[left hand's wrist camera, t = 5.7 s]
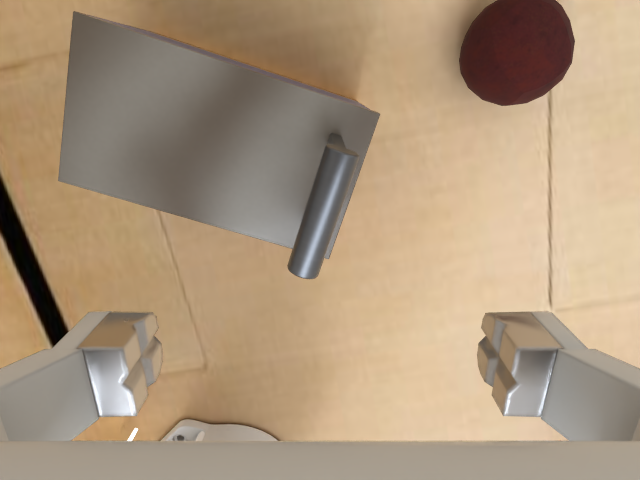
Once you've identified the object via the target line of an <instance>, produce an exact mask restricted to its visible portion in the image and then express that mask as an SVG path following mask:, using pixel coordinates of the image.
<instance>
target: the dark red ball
mask: <svg viewBox="0 0 640 480" xmlns="http://www.w3.org/2000/svg"><path fill="white" fill-rule="evenodd" d="M574 43H575V40H574V36H573V32H572V28H571V23H570V20H569V18H568V16H567V14H566V13H565V11H564V9H563V7H562V6H561V5H560V4H559V3H558V2H557V1H556V0H497V1H495V2H494V3H492V4H490V5H489V6H487V7H486V8H485V9H484V10H483V11H482V12H481V13H480V14H479V15H478V17H477V18H476V19H475V20H474V21H473V23H472V25H471V26H470V28H469V30H468V32H467V34H466V36H465V39H464V41H463V44H462V47H461V53H460V59H459V62H460V71H461V74H462V76H463V78H464V80H465V82H466V84H467V86H468V88H469V89H470V90H472V91H473V92H474V93H475V94H476V95H477V96H479V97H480V98H481V99H482V100H485V101H488V102H491V103H494V104H498V105H501V106H507V105H516V104H523V103H528V102H530V101H532V100H534V99H537V98H539V97H541V96H543V95H545V94H546V93H547V92H548V91H549V90H551V89H552V88H553V87H554V86H555V85H556V84H558V83H559V82H560V81H561V80H562V79H563V77H564V75H565V74H566V72H567V70H568V69H569V67H570V65H571V63H572V58H573V50H574Z"/></svg>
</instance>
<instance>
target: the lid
mask: <svg viewBox="0 0 640 480" xmlns="http://www.w3.org/2000/svg"><path fill="white" fill-rule="evenodd" d="M379 116H380V114H379V113H378V112H375V111H372V110H369V109H366V108H363V107H360V106H357V105H354V104H351V103H348V102H345V101H342V100H339V99H336V98H333V97H330V96H327V95H324V94H321V93H318V92H315V91H312V90H309V89H306V88H303V87H300V86H297V85H294V84H291V83H288V82H285V81H282V80H279V79H276V78H273V77H270V76H268V75H265V74H262V73H259V72H256V71H253V70H250V69H247V68H244V67H241V66H238V65H235V64H232V63H229V62H226V61H223V60H220V59H217V58H214V57H211V56H208V55H205V54H202V53H199V52H196V51H193V50H190V49H187V48H184V47H181V46H178V45H175V44H172V43H169V42H166V41H163V40H160V39H157V38H154V37H151V36H148V35H145V34H142V33H139V32H136V31H133V30H130V29H127V28H124V27H121V26H118V25H115V24H112V23H110V22H107V21H104V20H101V19H98V18H95V17H92V16H89V15H86V14H83V13H79V12H75V11H74V12H73V21H72V32H71V43H70V55H69V66H68V77H67V88H66V100H65V111H64V122H63V133H62V145H61V156H60V167H59V178H58V181H60V182H64V183H67V184H71V185H74V186H78V187H81V188H85V189H88V190H91V191H95V192H98V193H102V194H105V195H109V196H112V197H116V198H119V199H123V200H126V201H129V202H133V203H136V204H140V205H143V206H147V207H150V208H154V209H157V210H161V211H164V212H167V213H171V214H174V215H178V216H181V217H185V218H188V219H192V220H195V221H198V222H202V223H205V224H209V225H212V226H216V227H219V228H223V229H226V230H230V231H233V232H236V233H240V234H243V235H247V236H250V237H254V238H257V239H261V240H264V241H268V242H271V243H274V244H278V245H281V246H285V247H288V248H292V249H293V250H292V253H291V256H290V259H289V262H288V270H289V271H290V272H291V273H293V274H294V275H296V276H298V277H301V278H305V279H314V278H316V277H317V276H318V274H319V271H320V269H321V266H322V263H323V260H324V258H326V259H329V257H330V254H331V252H332V249H333V246H334V243H335V240H336V237H337V235H338V232H339V229H340V226H341V223H342V220H343V218H344V215H345V212H346V209H347V206H348V204H349V201H350V198H351V195H352V192H353V189H354V187H355V184H356V181H357V178H358V175H359V173H360V170H361V167H362V164H363V161H364V158H365V156H366V153H367V150H368V147H369V144H370V141H371V139H372V136H373V133H374V130H375V127H376V125H377V122H378V119H379Z"/></svg>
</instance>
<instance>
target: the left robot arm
mask: <svg viewBox="0 0 640 480" xmlns="http://www.w3.org/2000/svg"><path fill="white" fill-rule="evenodd" d="M158 328H159V326H158V321H157V317H156V315H155V314H154V313H153V312H111V311H94V312H88V313H87V314H86V315H85V316H84V317H83V318H82V319H81V320H80V321H79V322H78V323H77V324H76V325H75V326H74V327H73V328H72V329H71V330H70V331H69V332H68V333H67V334H66V335H65V336H64V337H63V338H62V339H61V340H60V341H59V342H58V343H57V344H56V345H55V346H54V347H53V348H52V349H44V350H42V351H39V352H37V353H35V354H33V355H30V356H28V357H26V358H23V359H21V360H19V361H17V362H14V363H12V364H10V365H8V366H5V367H3V368H1V369H0V480H640V369H639V368H637V367H635V366H632V365H630V364H628V363H626V362H623V361H621V360H619V359H617V358H614V357H612V356H610V355H607V354H605V353H603V352H601V351H598V350H596V349H588V348H587V347H586V346H585V345H584V344H583V343H582V342H581V341H580V340H579V339H578V338H577V337H576V336H575V335H574V334H573V333H572V332H571V331H570V330H569V329H568V328H567V327H566V326H565V325H564V324H563V323H562V322H561V321H560V320H559V319H558V318H557V317H556V316H555V315H554V314H553V313H551V312H548V311H535V312H497V313H485V315H484V317H483V321H482V326H481V328H482V330H483V331H484V333H485V335H486V336H485V337H484V338H483V339H482V340H481V341H480V342H479V345H478V352H477V358H478V367H479V370H480V374H481V376H482V378H483V380H484V382H486V383H487V384H489V385H490V386H492V387H493V390H492V396H493V398H494V400H495V402H496V404H497V405H498V407H499V409H500V411H501V413H502V414H503V416H525V417H541V419H542V420H543V421H545V422H546V423H547V424H549V425H550V426H551V427H552V428H554V429H555V430H556V431H558V432H559V433H560V434H561V435H563V436H564V437H565V438H567V439H568V440H569V441H278V440H277V439H275V438H274V437H273V436H271V435H269V434H267V433H266V432H263V431H261V430H259V429H256V428H253V427H249V426H244V425H237V424H207V423H204V422H200V421H196V420H191V419H185V420H182V421H180V422H179V423H178V424H177V425H176V426H175V427H174V428H173V429H172V430H171V431H170V432H169V433H168V434H167V435H166V436H165V437H164V438H163V439H162V440H161V441H132V439H133V438H134V436H135V434H136V432H137V430H138V429H136V428H135V429H134V431H133V433H132V434H131V436H130V437H129V439H128V441H71V440H72V439H74V438H75V437H76V436H77V435H79V434H80V433H81V432H83V431H84V430H85V429H86V428H88V427H89V426H90V425H92V424H93V423H94V422H95V421H97V420H98V419H99V417H114V416H137V414H138V413H139V411H140V409H141V407H142V405H143V404H144V402H145V400H146V398H147V396H148V390H147V387H148V386H150V385H151V384H153V383H154V382H156V380H157V378H158V376H159V374H160V370H161V366H162V362H163V351H162V344H161V342H160V341H159V340H158V339H157V338H156V337H155V336H154V335H155V333H156V332H157V330H158Z"/></svg>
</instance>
